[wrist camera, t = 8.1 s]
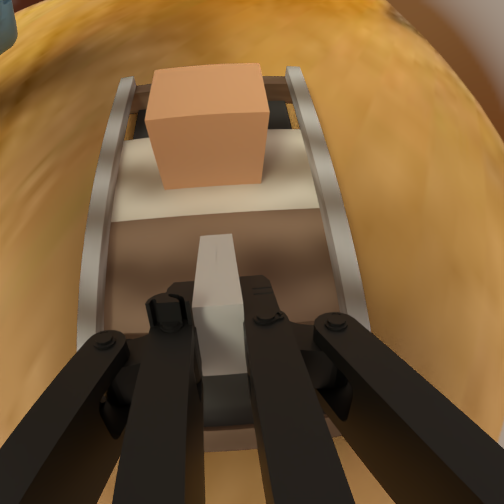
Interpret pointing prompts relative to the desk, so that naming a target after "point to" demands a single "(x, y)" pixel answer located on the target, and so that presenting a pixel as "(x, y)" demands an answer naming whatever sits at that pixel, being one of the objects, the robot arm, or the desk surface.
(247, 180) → the terracotta block
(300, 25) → the desk surface
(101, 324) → the rail track section
